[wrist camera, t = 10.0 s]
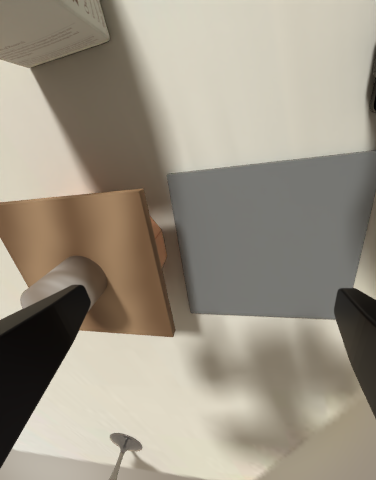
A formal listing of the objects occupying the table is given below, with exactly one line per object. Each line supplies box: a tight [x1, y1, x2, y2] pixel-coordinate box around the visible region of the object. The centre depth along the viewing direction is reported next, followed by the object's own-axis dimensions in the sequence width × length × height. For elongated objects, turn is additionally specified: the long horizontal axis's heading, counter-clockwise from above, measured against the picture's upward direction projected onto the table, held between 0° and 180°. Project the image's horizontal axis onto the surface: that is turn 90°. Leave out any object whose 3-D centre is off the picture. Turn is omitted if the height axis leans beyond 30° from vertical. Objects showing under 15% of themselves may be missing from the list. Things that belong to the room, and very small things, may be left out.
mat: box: [167, 150, 376, 319], centre depth 19 cm, size 15×15×1 cm
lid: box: [0, 188, 175, 337], centre depth 16 cm, size 13×13×5 cm
